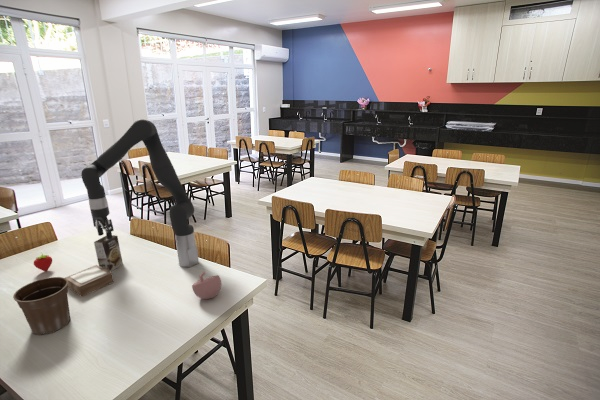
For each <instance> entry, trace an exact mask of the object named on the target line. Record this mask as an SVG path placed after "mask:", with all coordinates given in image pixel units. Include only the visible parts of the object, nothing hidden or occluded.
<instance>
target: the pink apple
mask: <svg viewBox="0 0 600 400" xmlns="http://www.w3.org/2000/svg"><path fill="white" fill-rule="evenodd" d="M205 274H206V272H205V271H202V273H201V274H200V275H199V279H198V280H197V281H195V282H194V283H192V285H191V288H192V292H193V293H194V295H195V296H196V297H198V298H199V299H202V300H209V299H212V298H214V297H215V296H217V295H218V294H219V292H220V291H221V288H222V280H221V277H220V275H218V274H217V275H212V276H209V277H204V276H205ZM203 277H204V278H203Z"/></svg>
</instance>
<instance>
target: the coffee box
mask: <svg viewBox="0 0 600 400" xmlns="http://www.w3.org/2000/svg"><path fill="white" fill-rule="evenodd" d="M93 245H94V250H95V253H96V254H95V255H96V258H97V263H98V266H100V267H102V268H104V269H106V270H107V271H109V272H111V273H112V272H113V271H115V270H116V269H118V268H119V267H120V266H122V265H123V258H122V253H121V248H120V243H119V238H118V235H116V234H115V235H113V234H112V239H109V240H108V239H107V235H106V234H105V236H103V237H101V238H98V239H97V240H95V241H93Z"/></svg>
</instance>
